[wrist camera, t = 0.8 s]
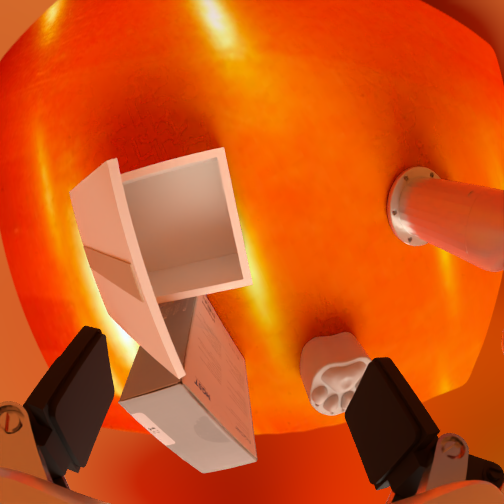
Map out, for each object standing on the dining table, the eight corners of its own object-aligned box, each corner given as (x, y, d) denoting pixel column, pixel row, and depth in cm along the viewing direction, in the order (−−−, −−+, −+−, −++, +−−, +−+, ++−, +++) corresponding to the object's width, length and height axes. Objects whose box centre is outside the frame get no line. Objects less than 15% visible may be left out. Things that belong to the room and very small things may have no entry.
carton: (224, 151, 35) (223, 145, 25) (245, 255, 39) (252, 284, 29) (109, 182, 34) (75, 189, 25) (136, 278, 38) (113, 311, 29)
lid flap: (116, 157, 13) (105, 160, 13) (186, 374, 17) (177, 379, 17) (74, 190, 25) (68, 192, 24) (113, 312, 29) (108, 314, 28)
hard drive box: (155, 303, 40) (114, 399, 21) (199, 282, 40) (182, 379, 21) (206, 376, 45) (202, 475, 26) (247, 360, 44) (261, 462, 25)
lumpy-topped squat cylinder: (359, 328, 45) (381, 358, 36) (350, 383, 48) (367, 413, 40) (300, 339, 44) (314, 373, 36) (299, 394, 48) (309, 427, 40)
